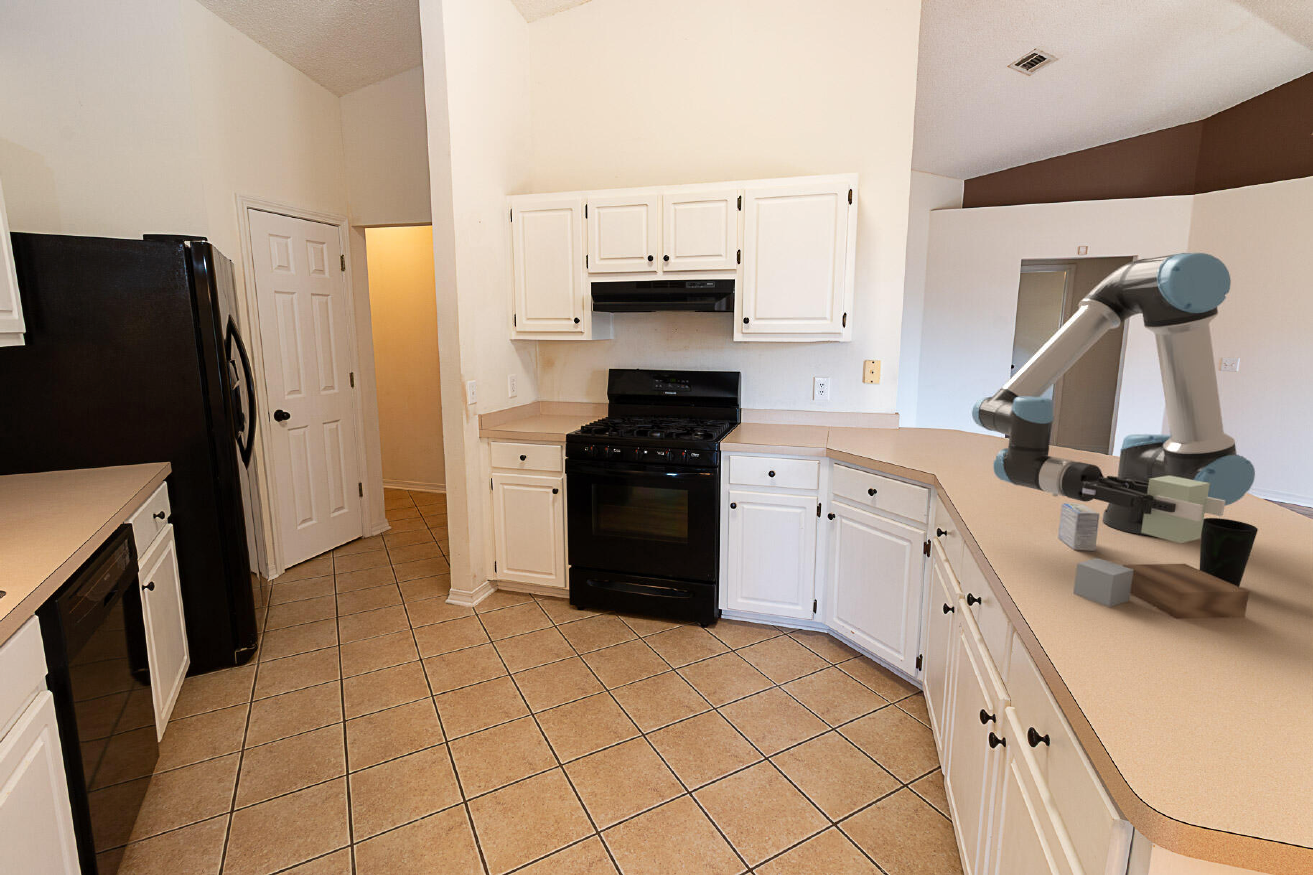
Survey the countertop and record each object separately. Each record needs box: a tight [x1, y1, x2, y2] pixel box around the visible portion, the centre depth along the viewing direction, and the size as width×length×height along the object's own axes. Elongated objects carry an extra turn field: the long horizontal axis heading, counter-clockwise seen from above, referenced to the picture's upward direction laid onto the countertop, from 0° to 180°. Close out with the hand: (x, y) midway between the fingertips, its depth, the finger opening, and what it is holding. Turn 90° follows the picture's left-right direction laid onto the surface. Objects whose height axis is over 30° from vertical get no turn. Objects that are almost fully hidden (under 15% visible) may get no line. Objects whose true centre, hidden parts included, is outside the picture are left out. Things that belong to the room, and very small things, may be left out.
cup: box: [1199, 517, 1259, 587], centre depth 114 cm, size 8×8×12 cm
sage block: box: [1141, 476, 1210, 544], centre depth 106 cm, size 6×6×10 cm
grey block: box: [1073, 557, 1134, 608], centre depth 109 cm, size 6×6×6 cm
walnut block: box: [1122, 563, 1250, 620], centre depth 107 cm, size 12×12×5 cm
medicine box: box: [1057, 502, 1100, 552], centre depth 135 cm, size 8×4×9 cm, turn 168°
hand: (1211, 510), depth 101 cm, fingers closed on sage block, 6 cm apart
